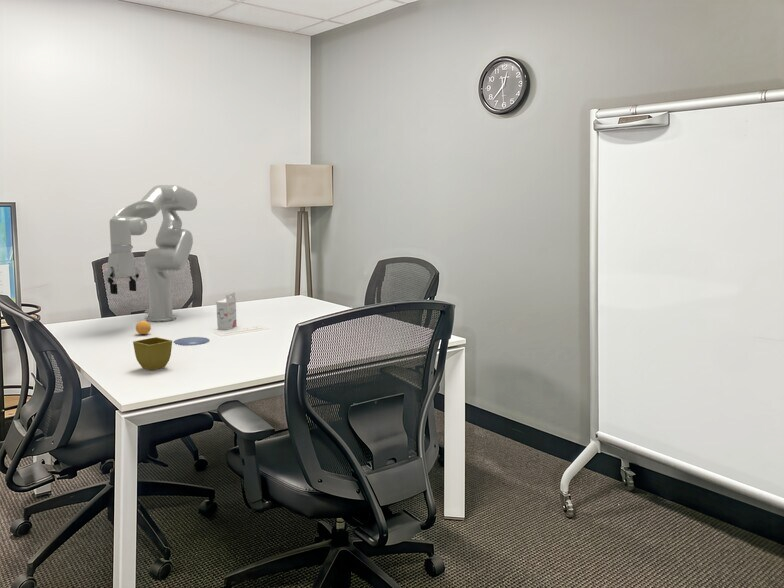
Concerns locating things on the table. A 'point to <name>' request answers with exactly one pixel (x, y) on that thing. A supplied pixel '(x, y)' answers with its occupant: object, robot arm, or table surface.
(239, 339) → the table surface
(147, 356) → the flower pot
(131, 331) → the table surface
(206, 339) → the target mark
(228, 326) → the ink cartridge box
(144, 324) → the ball
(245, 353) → the table surface
